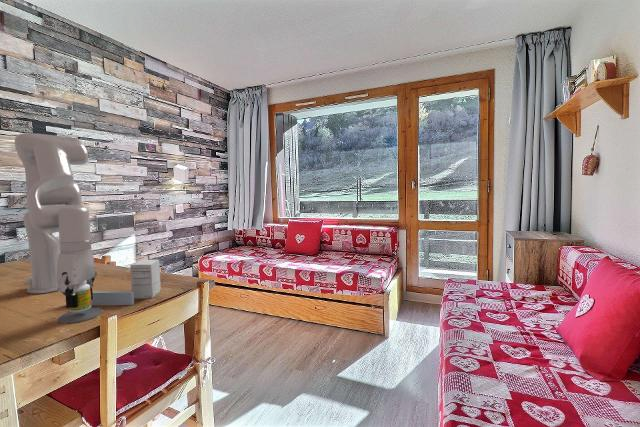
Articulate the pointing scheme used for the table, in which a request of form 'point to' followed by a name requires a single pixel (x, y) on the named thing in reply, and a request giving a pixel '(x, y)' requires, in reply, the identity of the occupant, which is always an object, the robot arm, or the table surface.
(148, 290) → the supplement box
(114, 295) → the acrylic wall
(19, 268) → the table surface
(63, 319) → the mat
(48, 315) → the table surface
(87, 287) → the supplement bottle
